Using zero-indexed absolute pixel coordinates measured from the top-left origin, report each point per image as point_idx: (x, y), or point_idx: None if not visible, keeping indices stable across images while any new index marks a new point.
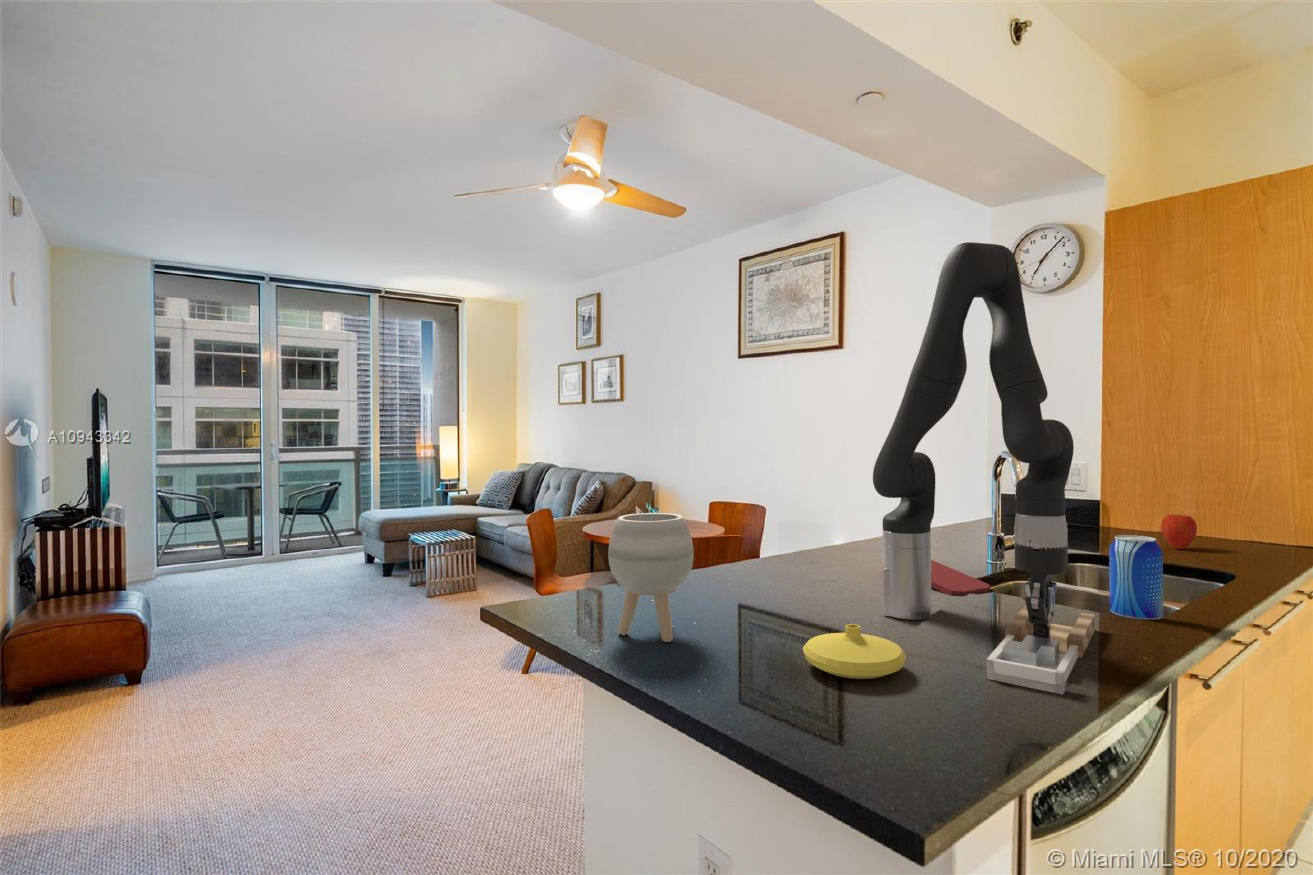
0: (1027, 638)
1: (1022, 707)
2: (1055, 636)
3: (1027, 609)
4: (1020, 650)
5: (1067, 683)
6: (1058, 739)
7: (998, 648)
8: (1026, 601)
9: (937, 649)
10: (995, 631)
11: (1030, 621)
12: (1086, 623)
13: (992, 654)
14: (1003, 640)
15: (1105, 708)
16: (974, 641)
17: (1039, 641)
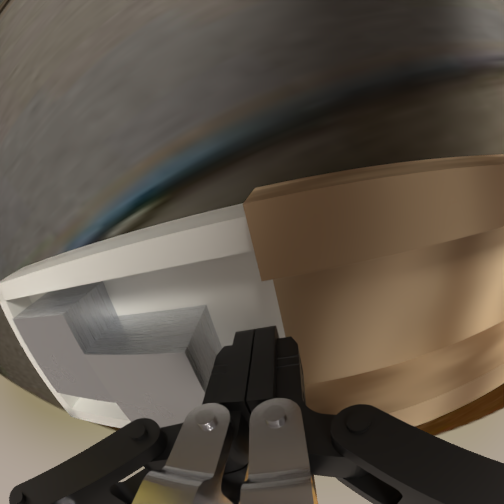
0: (137, 363)
1: (15, 346)
2: (477, 288)
3: (50, 470)
4: (36, 361)
5: None
6: (13, 382)
7: (47, 276)
8: (14, 491)
9: (96, 40)
10: (464, 77)
11: (126, 429)
12: (499, 381)
13: (11, 284)
14: (129, 247)
15: (107, 427)
16: (288, 44)
17: (145, 397)
